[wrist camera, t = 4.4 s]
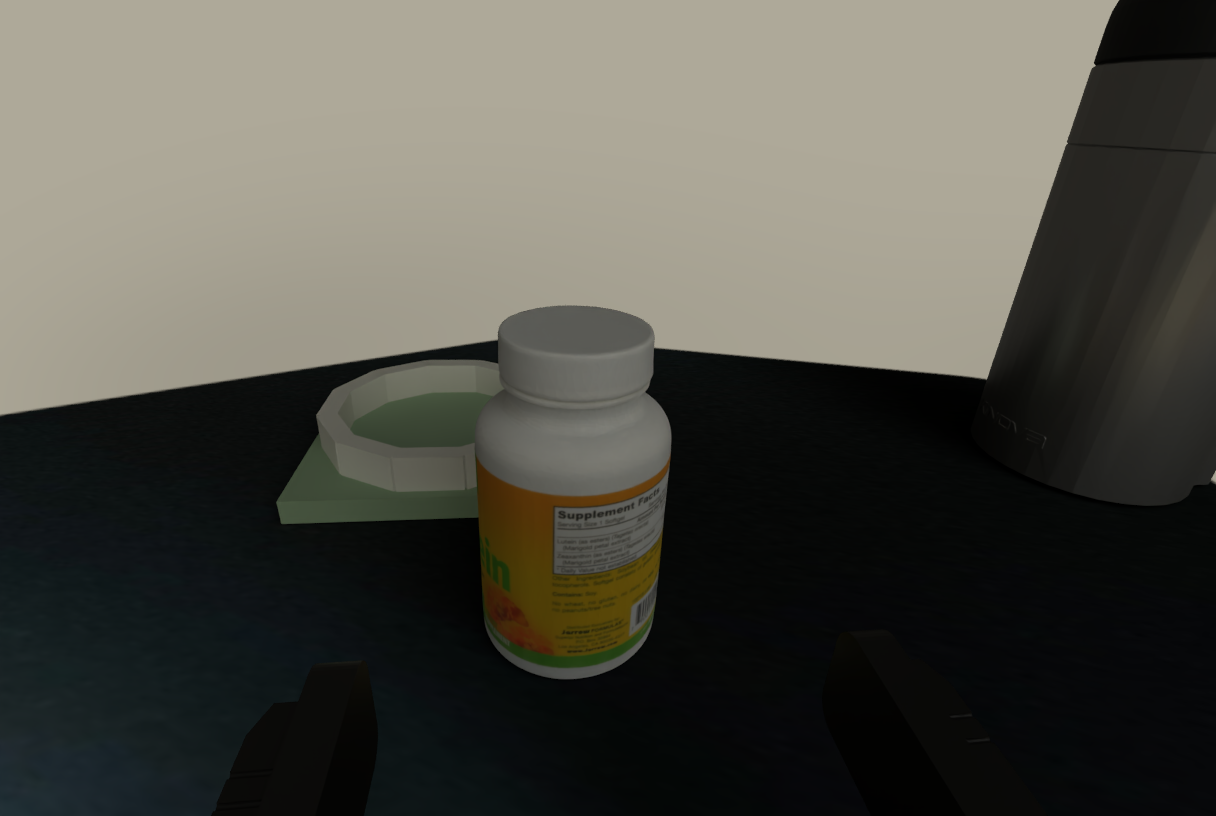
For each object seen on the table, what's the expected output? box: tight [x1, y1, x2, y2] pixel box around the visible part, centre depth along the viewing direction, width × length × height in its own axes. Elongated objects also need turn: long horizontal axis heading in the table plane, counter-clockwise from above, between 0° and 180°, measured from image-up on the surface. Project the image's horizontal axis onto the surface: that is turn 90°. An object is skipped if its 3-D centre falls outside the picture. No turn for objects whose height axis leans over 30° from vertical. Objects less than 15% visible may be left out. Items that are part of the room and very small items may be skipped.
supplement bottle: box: [475, 306, 671, 679], centre depth 18 cm, size 5×5×10 cm
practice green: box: [277, 360, 504, 524], centre depth 29 cm, size 11×11×2 cm
